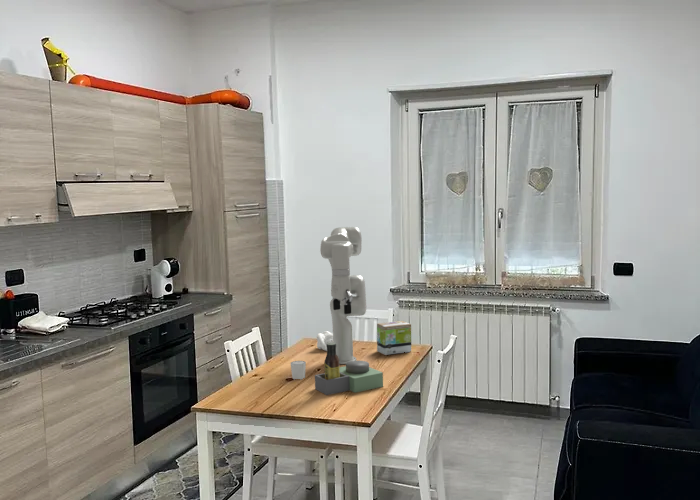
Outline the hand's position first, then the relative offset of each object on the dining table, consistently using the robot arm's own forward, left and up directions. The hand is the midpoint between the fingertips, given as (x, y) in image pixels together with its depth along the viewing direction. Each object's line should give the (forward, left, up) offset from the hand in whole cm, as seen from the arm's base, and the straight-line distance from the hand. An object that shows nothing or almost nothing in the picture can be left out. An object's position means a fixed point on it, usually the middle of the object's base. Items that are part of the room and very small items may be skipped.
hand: (342, 311), depth 277 cm
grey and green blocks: (+7, -3, -31) cm, 32 cm away
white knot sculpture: (-54, +21, -31) cm, 66 cm away
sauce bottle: (+7, -10, -31) cm, 33 cm away
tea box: (-29, +46, -31) cm, 63 cm away
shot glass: (-17, -14, -31) cm, 38 cm away
